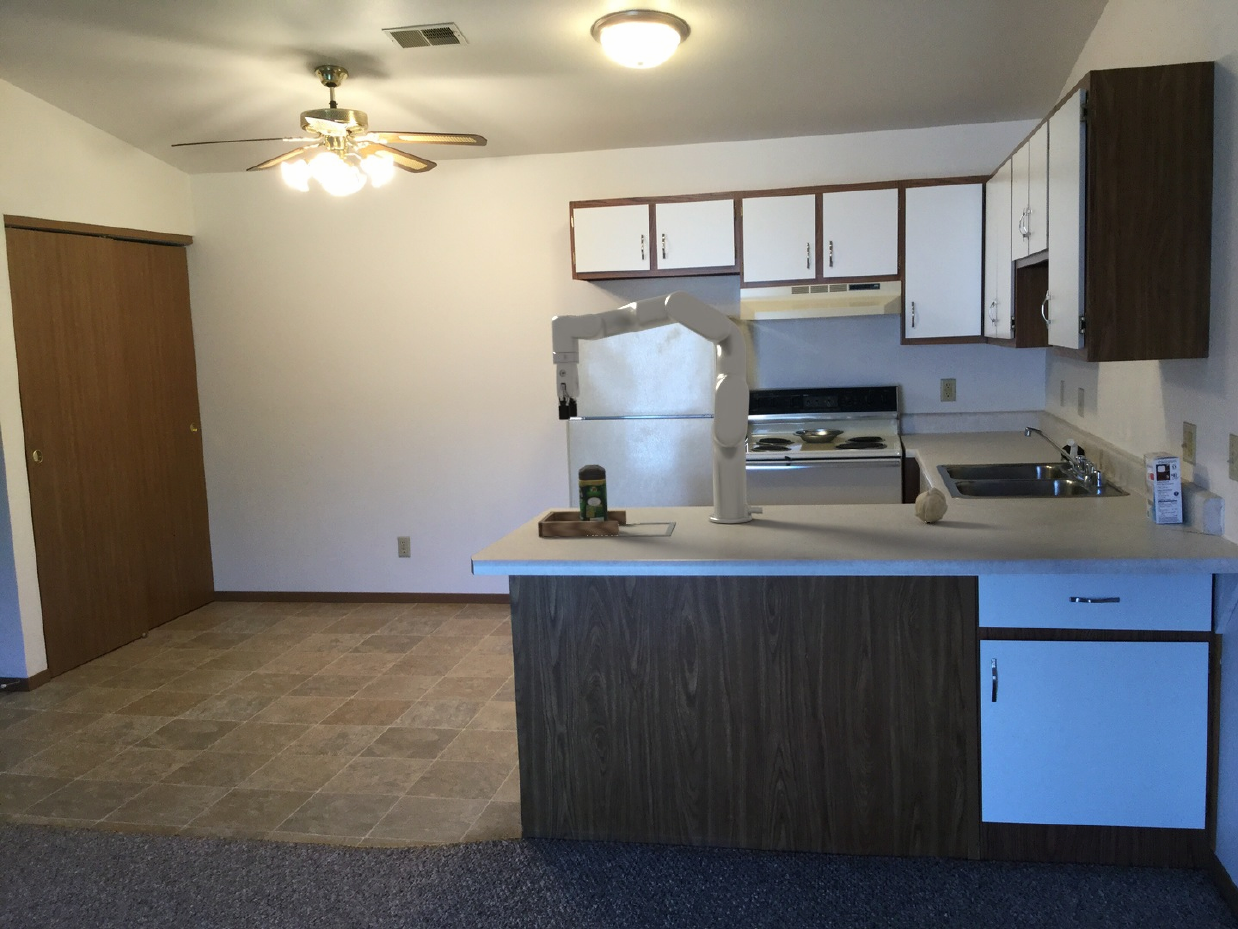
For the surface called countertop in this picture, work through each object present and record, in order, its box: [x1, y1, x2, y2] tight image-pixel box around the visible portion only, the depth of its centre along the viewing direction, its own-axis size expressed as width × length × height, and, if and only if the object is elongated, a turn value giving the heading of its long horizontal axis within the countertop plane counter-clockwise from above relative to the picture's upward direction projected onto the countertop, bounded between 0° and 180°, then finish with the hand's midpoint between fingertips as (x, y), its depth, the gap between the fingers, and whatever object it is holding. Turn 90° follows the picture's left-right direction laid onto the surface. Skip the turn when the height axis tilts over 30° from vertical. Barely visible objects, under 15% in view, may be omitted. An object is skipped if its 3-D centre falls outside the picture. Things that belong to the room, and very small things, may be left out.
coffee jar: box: [577, 464, 609, 521], centre depth 273 cm, size 10×8×19 cm
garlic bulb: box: [914, 487, 949, 523], centre depth 266 cm, size 10×8×10 cm
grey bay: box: [617, 521, 677, 537], centre depth 273 cm, size 14×19×1 cm
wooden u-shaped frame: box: [537, 509, 627, 537], centre depth 275 cm, size 22×17×4 cm
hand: (568, 418), depth 281 cm, fingers open, 9 cm apart
